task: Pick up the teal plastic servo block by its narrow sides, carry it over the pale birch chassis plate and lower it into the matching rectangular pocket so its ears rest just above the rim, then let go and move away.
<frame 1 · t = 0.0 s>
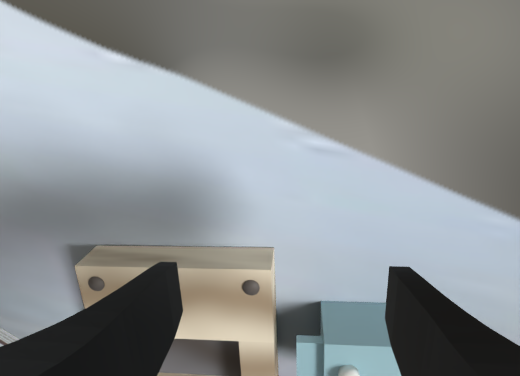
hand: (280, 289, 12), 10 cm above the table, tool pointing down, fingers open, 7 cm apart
chassis plate: (195, 343, 27), on the table
servo block: (365, 326, 25), on the table
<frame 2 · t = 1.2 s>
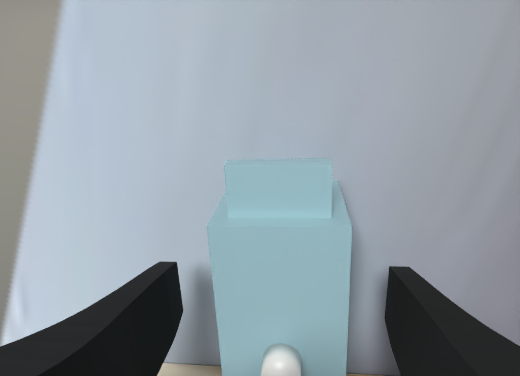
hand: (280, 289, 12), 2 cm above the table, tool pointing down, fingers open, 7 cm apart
servo block: (285, 251, 15), on the table
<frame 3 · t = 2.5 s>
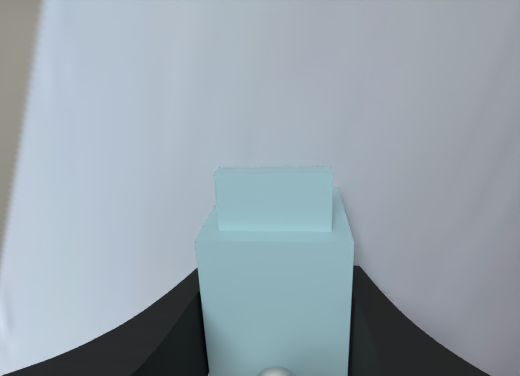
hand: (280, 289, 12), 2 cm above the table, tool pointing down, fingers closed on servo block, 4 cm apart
servo block: (282, 262, 14), on the table, touching gripper
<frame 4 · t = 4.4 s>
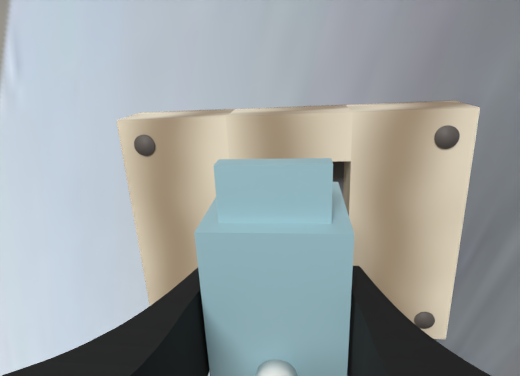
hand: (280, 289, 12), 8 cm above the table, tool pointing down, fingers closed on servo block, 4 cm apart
chassis plate: (291, 215, 20), on the table
servo block: (282, 256, 14), point 7 cm above the table, touching gripper
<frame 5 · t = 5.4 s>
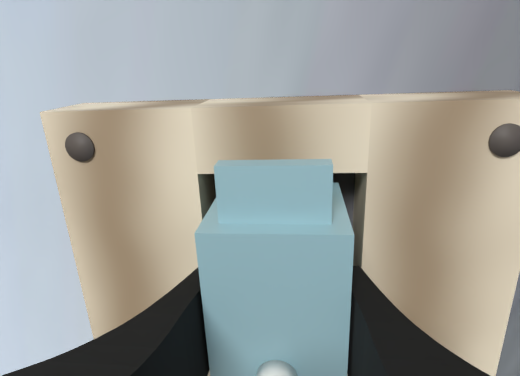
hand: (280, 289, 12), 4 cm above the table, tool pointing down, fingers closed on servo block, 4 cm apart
chassis plate: (285, 239, 16), on the table
servo block: (282, 257, 14), point 2 cm above the table, touching gripper
when the fingers open (3 cm above the table, at t = 6.3 s): servo block drops 1 cm, resting on chassis plate.
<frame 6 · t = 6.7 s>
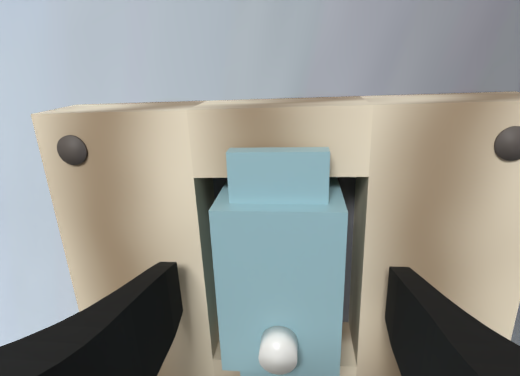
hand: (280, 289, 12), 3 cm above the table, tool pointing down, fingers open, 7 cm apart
chassis plate: (284, 244, 15), on the table
servo block: (283, 240, 15), resting on chassis plate
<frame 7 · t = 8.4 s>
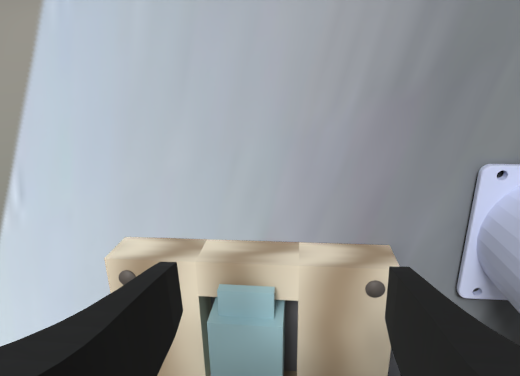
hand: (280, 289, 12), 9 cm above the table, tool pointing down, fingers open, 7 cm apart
chassis plate: (254, 322, 24), on the table
servo block: (254, 320, 24), resting on chassis plate
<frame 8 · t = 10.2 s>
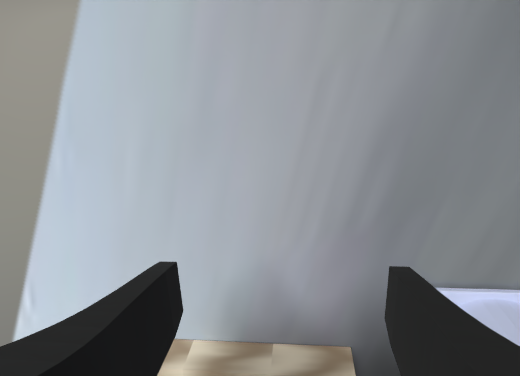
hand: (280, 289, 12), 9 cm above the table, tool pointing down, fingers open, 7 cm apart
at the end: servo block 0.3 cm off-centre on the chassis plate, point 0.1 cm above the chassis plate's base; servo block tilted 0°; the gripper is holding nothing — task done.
